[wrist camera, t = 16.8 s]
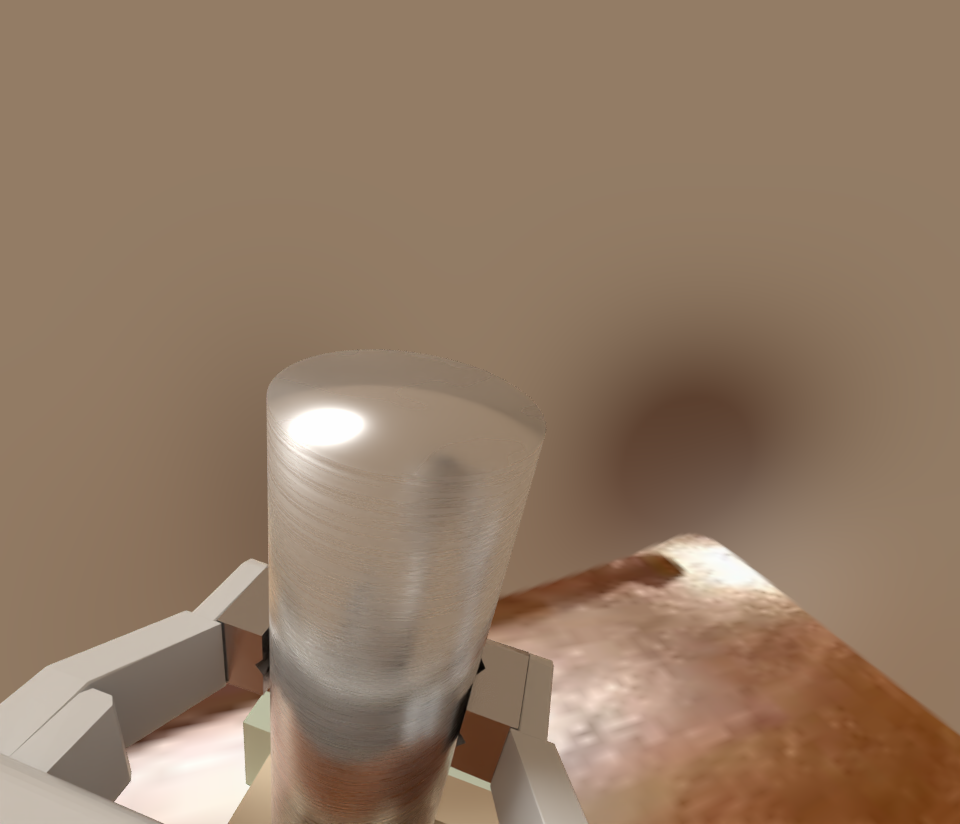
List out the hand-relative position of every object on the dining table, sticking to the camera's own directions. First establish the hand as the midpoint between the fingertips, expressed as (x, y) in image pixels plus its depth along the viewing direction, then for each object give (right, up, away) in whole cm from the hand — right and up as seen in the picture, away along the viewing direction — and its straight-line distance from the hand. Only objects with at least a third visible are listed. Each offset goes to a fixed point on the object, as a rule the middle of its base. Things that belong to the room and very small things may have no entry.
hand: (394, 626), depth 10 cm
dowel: (-2, -7, +3) cm, 8 cm away
